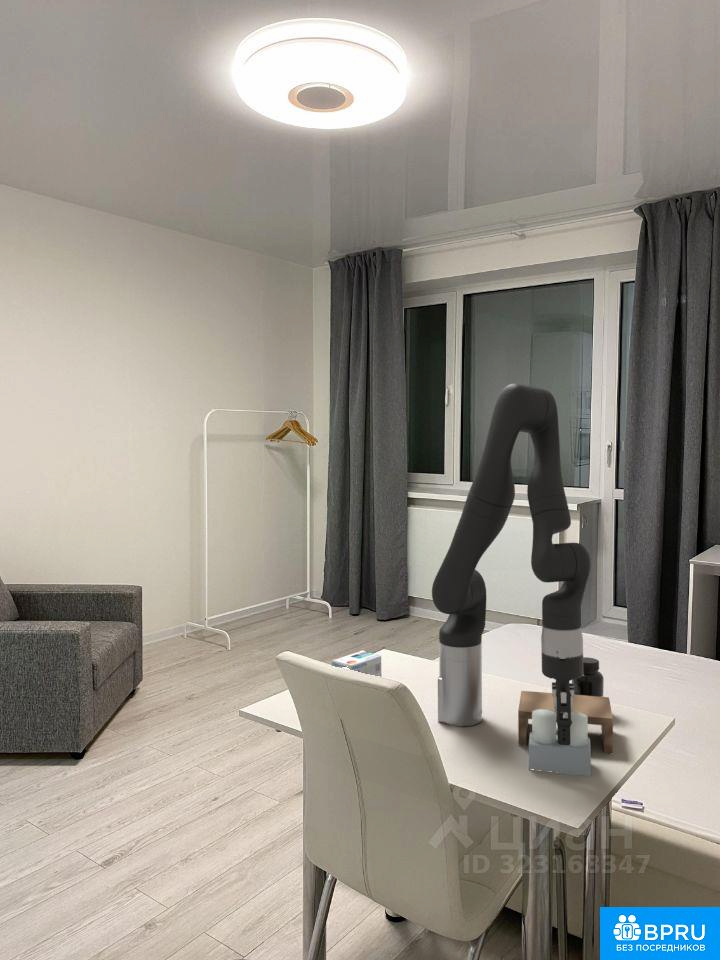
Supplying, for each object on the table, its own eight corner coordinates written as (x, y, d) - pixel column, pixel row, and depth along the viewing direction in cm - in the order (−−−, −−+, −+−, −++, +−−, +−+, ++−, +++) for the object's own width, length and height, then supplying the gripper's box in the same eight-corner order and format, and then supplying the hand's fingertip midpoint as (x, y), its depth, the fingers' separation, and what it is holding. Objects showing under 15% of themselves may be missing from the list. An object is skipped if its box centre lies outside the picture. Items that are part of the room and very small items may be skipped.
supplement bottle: (605, 719, 160) (605, 665, 160) (572, 717, 162) (572, 664, 161) (601, 708, 167) (601, 656, 166) (570, 706, 168) (570, 654, 168)
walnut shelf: (518, 744, 148) (518, 710, 147) (521, 722, 159) (521, 690, 159) (612, 753, 143) (612, 718, 143) (608, 729, 155) (608, 697, 154)
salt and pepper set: (528, 770, 137) (528, 717, 136) (530, 757, 142) (530, 707, 142) (590, 776, 134) (591, 723, 133) (589, 763, 139) (589, 712, 139)
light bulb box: (362, 692, 179) (362, 649, 179) (383, 699, 175) (382, 654, 174) (331, 704, 172) (330, 659, 171) (351, 711, 167) (351, 665, 166)
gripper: (541, 639, 145) (543, 720, 146) (541, 660, 131) (542, 749, 132) (581, 640, 143) (582, 722, 144) (585, 662, 129) (586, 752, 130)
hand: (563, 735), depth 138 cm, fingers open, 8 cm apart
